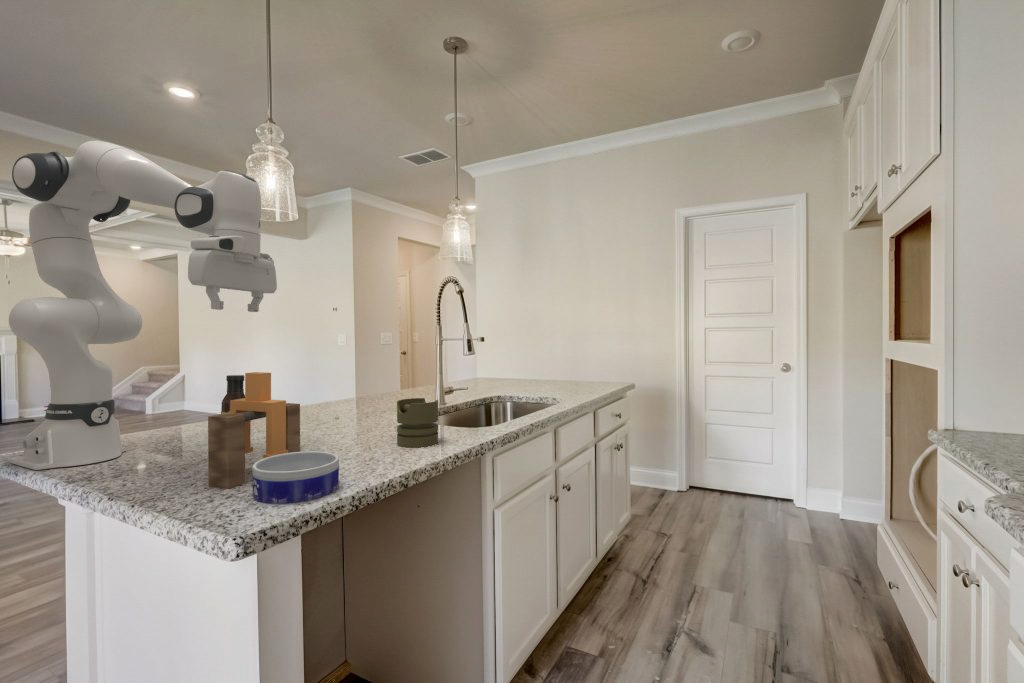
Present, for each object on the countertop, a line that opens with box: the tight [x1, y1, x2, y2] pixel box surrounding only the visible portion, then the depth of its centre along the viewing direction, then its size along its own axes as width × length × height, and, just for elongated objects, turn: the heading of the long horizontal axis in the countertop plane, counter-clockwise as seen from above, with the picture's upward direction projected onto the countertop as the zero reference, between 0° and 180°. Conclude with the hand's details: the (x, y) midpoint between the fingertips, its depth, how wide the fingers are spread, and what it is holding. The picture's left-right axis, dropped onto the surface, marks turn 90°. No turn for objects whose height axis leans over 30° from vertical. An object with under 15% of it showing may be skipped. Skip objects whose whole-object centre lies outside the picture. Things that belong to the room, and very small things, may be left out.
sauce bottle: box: [220, 374, 245, 414], centre depth 123 cm, size 6×6×20 cm
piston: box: [396, 397, 439, 449], centre depth 132 cm, size 11×12×11 cm
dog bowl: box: [251, 450, 340, 505], centre depth 91 cm, size 15×15×6 cm
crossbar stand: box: [207, 402, 301, 490], centre depth 102 cm, size 5×20×14 cm, turn 165°
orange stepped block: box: [230, 371, 288, 459], centre depth 102 cm, size 12×5×18 cm, turn 75°
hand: (235, 310), depth 103 cm, fingers open, 8 cm apart
